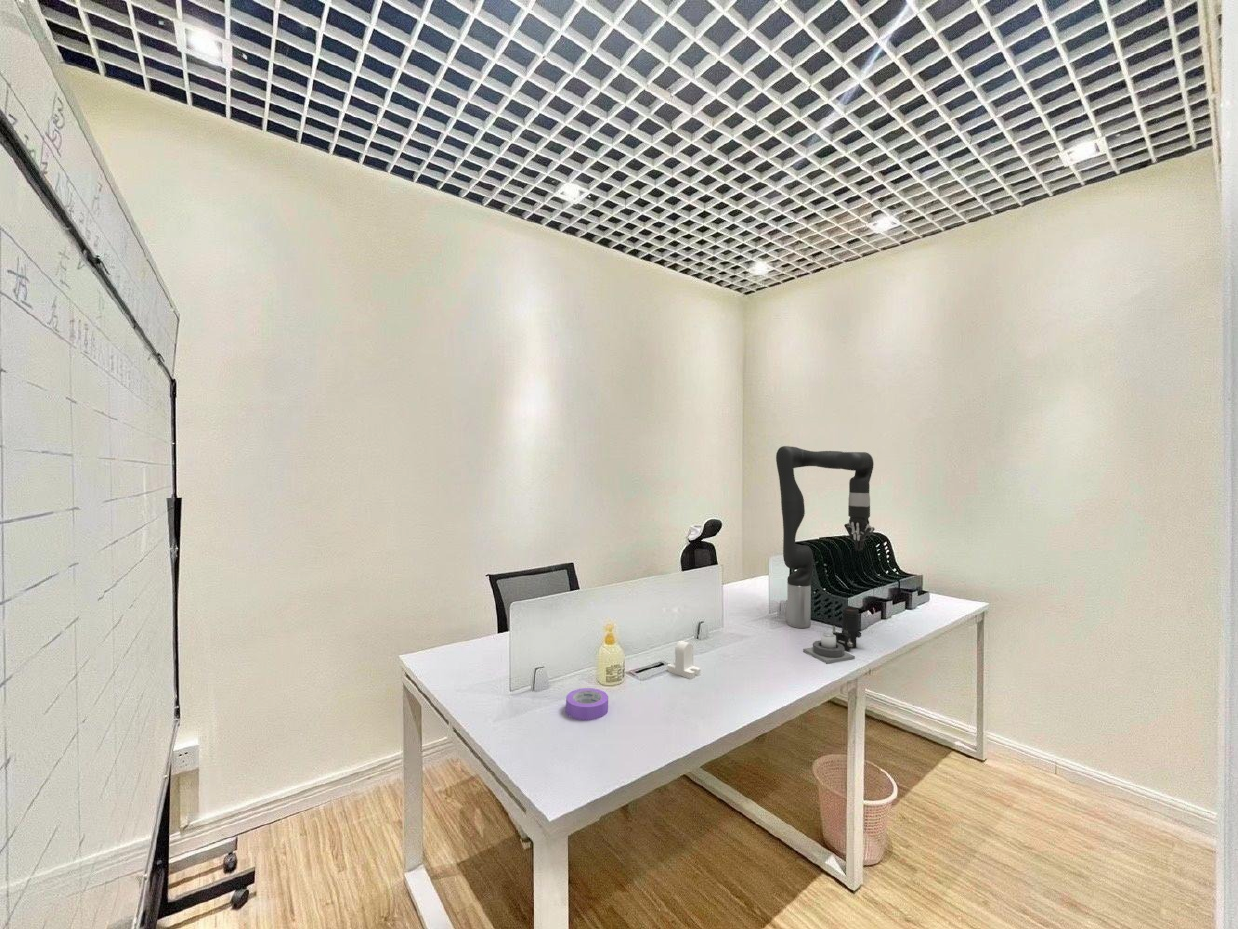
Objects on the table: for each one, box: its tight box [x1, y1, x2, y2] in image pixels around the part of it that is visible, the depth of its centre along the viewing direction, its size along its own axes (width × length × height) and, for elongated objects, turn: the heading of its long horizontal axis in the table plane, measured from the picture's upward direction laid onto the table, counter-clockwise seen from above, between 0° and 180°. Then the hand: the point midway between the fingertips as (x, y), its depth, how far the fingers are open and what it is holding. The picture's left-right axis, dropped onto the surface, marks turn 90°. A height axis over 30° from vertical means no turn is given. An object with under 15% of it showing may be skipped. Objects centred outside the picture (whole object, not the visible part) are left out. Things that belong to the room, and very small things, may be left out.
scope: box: [831, 606, 862, 652], centre depth 193 cm, size 8×14×10 cm
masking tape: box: [565, 687, 609, 721], centre depth 145 cm, size 12×12×4 cm
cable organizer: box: [667, 640, 701, 680], centre depth 170 cm, size 5×10×10 cm, turn 47°
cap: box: [820, 632, 836, 649], centre depth 185 cm, size 5×5×6 cm
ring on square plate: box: [802, 640, 856, 665], centre depth 185 cm, size 12×12×4 cm
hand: (858, 550), depth 199 cm, fingers closed
